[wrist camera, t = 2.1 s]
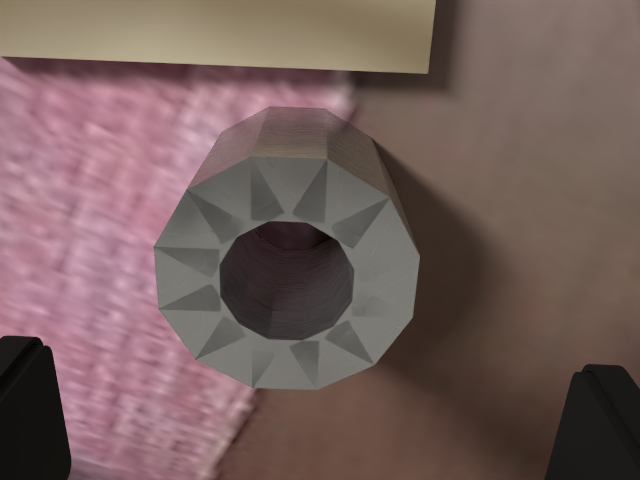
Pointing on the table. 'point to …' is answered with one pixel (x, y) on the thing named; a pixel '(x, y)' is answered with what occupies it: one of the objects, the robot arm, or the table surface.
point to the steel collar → (288, 254)
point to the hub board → (225, 32)
